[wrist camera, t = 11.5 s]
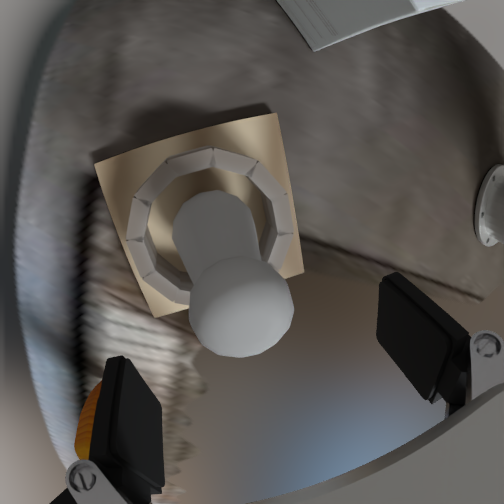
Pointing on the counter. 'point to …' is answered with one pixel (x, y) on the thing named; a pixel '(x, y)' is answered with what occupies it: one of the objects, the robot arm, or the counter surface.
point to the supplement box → (350, 16)
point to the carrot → (86, 424)
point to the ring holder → (190, 184)
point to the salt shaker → (229, 277)
